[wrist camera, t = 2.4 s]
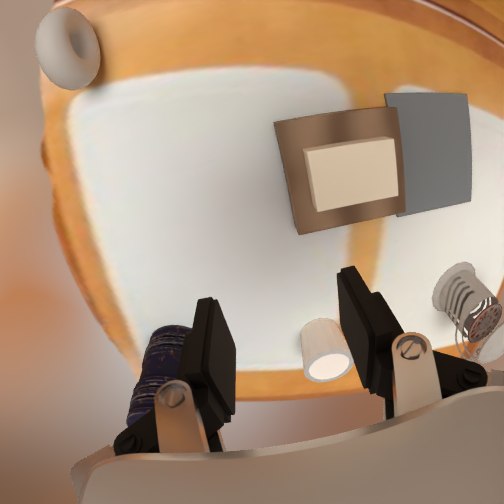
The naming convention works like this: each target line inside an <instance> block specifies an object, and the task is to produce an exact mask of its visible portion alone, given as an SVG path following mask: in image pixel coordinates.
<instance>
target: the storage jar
mask: <svg viewBox="0 0 504 504" xmlns="http://www.w3.org/2000/svg"><path fill="white" fill-rule="evenodd" d="M191 331H192V329H191V328H188V327H185V326H179V325H169V326H164V327H161V328H159V329H157V330H156V331H155V332H154V333H153V334H152V336H151V338H150V342H149V345H148V347H147V348H146V351H145V355H144V359H143V363H142V373H141V376H140V379H139V382H138V383H137V384H136V386H135V388H134V392H133V395H132V398H131V402H130V409H129V413H128V416H127V420H126V424H127V426H128V427H129V426H130V425H132V424H133V423H134V422H136V421H137V420H138V419H140V418H141V417H142V416H143V415H145V414H146V413H147V412H149V411H150V410H151V409H153V408H154V407H155V403H154V398H155V394H156V392H157V390H158V389H159V388H160V387H161V386H162V385H163V384H165V383H167V382H169V381H173V380H176V376H177V371H178V366H179V361H180V356H181V351H182V346H183V341H184V336H185V333H187V332H191Z"/></svg>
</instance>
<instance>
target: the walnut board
mask: <svg viewBox="0 0 504 504" xmlns="http://www.w3.org/2000/svg"><path fill="white" fill-rule="evenodd" d="M274 127H275V131H276V135H277V140H278V144H279V149H280V153H281V158H282V163H283V167H284V172H285V177H286V182H287V186H288V191H289V196H290V201H291V206H292V212H293V217H294V222H295V227H296V229H297V232H298V234H299V235H303V234H307V233H312V232H316V231H321V230H326V229H330V228H335V227H339V226H344V225H348V224H353V223H358V222H362V221H367V220H371V219H376V218H381V217H385V216H390V215H395V214H399V213H404V212H406V200H405V177H404V163H403V152H402V142H401V133H400V125H399V118H398V111H397V107H376V108H365V109H355V110H346V111H338V112H331V113H324V114H317V115H311V116H305V117H299V118H293V119H288V120H283V121H277V122H274ZM384 136H385V137H389V138H393V139H394V145H395V155H396V166H397V179H398V196H394V197H389V198H384V199H379V200H374V201H369V202H364V203H359V204H354V205H349V206H344V207H340V208H335V209H330V210H325V211H321V212H317V211H316V209H315V208H314V206H313V202H312V196H311V191H310V185H309V179H308V174H307V168H306V163H305V158H304V153H303V149H305V148H311V147H316V146H322V145H328V144H334V143H340V142H347V141H354V140H361V139H368V138H376V137H384Z"/></svg>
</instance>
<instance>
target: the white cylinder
mask: <svg viewBox="0 0 504 504" xmlns="http://www.w3.org/2000/svg"><path fill="white" fill-rule="evenodd" d="M301 344H302V356H303V368H304V374H305V376H306V377H307V378H308V379H310V380H311V381H315V382H329V381H332V380H335V379H338V378H340V377H342V376H343V375H345V374H346V373H347V372H348V371H349V370H350V369H351V368H352V366H353V363H354V360H353V358H352V355H351V352H350V349H349V347H348V345H347V343H346V341H345V339H344V337H343V336H342V334H341V332H340V330H339V328H338V326H337V324H336V323H335V322H334V321H333V320H330V319H327V318H319V319H316V320H313V321H311V322H309V323H308V324H306V325H305V327H304V328H303V329H302V332H301Z"/></svg>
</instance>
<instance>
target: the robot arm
mask: <svg viewBox="0 0 504 504" xmlns="http://www.w3.org/2000/svg"><path fill="white" fill-rule="evenodd" d="M337 285H338V298H339V313H340V324H341V328H342V331H343V334H344V336H345V339H346V341H347V344H348V347H349V349H350V352H351V355H352V358H353V360H354V363H355V366H356V369H357V371H358V374H359V377H360V380H361V383H362V385H363V388H364V389H365V388H368V389H369V392H370V394H374V393H376V394H377V395H378V396H381V397H383V417H384V421H383V422H380V423H377V424H373V425H370V426H367V427H364V428H360V429H357V430H353V431H349V432H345V433H341V434H337V435H333V436H329V437H324V438H320V439H315V440H310V441H305V442H300V443H294V444H289V445H282V446H275V447H269V448H268V447H267V448H260V449H251V450H240V451H228V452H226V449H225V445H224V443H223V439H222V436H221V432H220V428H221V427H222V426H223V425H224V423H229V422H231V415H234V414H235V382H236V347H235V343H234V341H233V338H232V336H231V333H230V331H229V328H228V326H227V323H226V320H225V318H224V315H223V313H222V310H221V307H220V305H219V302H218V300H217V299H216V300H213V298H212V297H208V298H203V299H199V300H198V302H197V307H196V312H195V317H194V322H193V327H192V331H191V332H187V333H185V336H184V341H183V346H182V351H181V356H180V361H179V366H178V371H177V376H176V380H173V381H169V382H167V383H165V384H163V385H162V386H161V387H160V388H159V389H158V390H157V392H156V394H155V398H154V403H155V407H154V408H153V409H151V410H150V411H149V412H147V413H146V414H145V415H143V416H142V417H141V418H140V419H138V420H137V421H136V422H134V423H133V424H132V425H130V426H129V427H128V428H126V429H125V430H124V431H122V432H121V433H120V434H119V435H118V436H117V437H116V439H115V441H114V445H113V446H110V445H107V446H105V447H104V448H102V449H100V450H98V451H97V452H95V453H93V454H91V455H89V456H87V457H86V458H84V459H82V460H80V461H78V462H77V463H75V464H74V465H73V467H72V468H71V473H70V474H71V479H72V482H73V485H74V488H75V490H76V493H77V496H78V504H504V371H499V370H490V372H486V371H485V369H484V368H483V367H482V366H481V365H480V364H477V363H475V362H472V361H468V360H465V359H461V358H458V357H454V356H451V355H447V354H444V353H440V352H437V351H433V350H432V347H431V344H430V342H429V340H428V339H427V338H426V337H425V336H424V335H422V334H420V333H416V332H407V333H404V331H403V329H402V328H401V326H400V324H399V323H398V321H397V319H396V317H395V316H394V314H393V313H392V311H391V309H390V308H389V306H388V304H387V303H386V301H385V300H384V298H383V296H382V295H381V293H380V292H374V293H371V292H370V291H369V289H368V287H367V286H366V284H365V282H364V281H363V279H362V277H361V276H360V274H359V272H358V271H357V269H356V268H355V266H350V267H346V268H342V269H341V272H340V273H337Z"/></svg>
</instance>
